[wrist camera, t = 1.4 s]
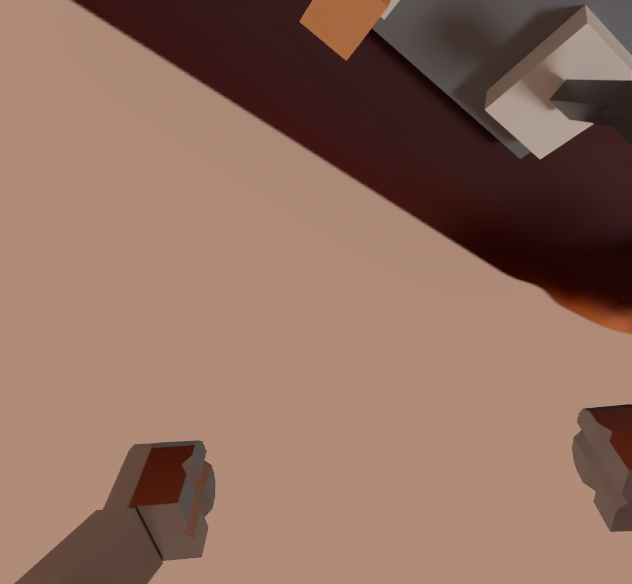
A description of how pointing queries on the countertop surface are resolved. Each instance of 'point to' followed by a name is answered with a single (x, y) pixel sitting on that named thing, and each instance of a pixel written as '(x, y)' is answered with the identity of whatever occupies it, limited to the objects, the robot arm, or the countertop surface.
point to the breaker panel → (513, 58)
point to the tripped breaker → (343, 22)
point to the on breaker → (597, 103)
